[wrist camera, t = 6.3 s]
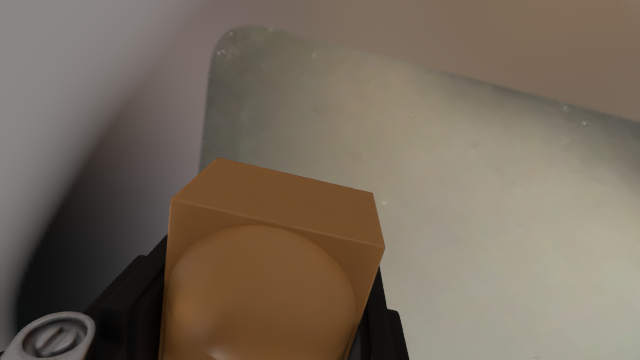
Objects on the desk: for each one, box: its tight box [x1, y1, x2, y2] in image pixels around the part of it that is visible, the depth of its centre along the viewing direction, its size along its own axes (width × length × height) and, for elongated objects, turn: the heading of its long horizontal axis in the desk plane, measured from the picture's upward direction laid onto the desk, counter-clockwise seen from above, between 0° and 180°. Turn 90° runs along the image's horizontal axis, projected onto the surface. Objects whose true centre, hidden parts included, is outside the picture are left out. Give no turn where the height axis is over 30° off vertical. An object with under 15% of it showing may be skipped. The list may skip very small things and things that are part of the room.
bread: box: [158, 157, 385, 360], centre depth 9 cm, size 7×5×5 cm, turn 167°
